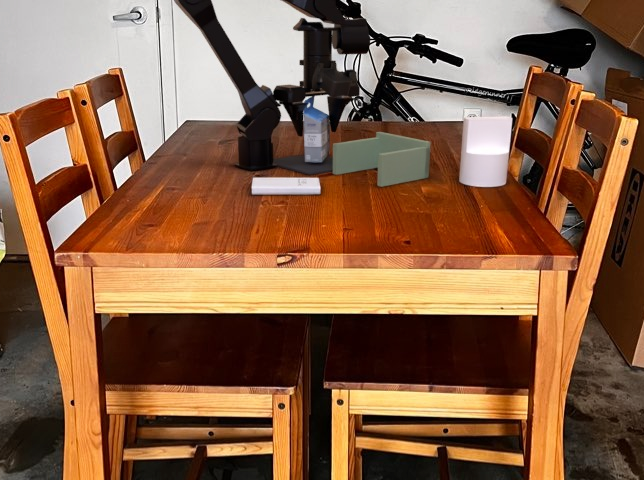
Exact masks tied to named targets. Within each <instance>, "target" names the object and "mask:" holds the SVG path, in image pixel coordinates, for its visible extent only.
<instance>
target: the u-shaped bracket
mask: <svg viewBox="0 0 644 480" xmlns="http://www.w3.org/2000/svg"><path fill="white" fill-rule="evenodd" d="M431 144H432V143H431V141H430V140H429V141H428V140H423V139H418V138H413V137H409V136H404V135H398V134H394V133H388V132H384V131H376V132H375V137H369V138H368V137H367V138H361V139H356V140H349V141H341V142H334V143H332V157H333V171H332V175H335V176H338V175H343V174H349V173H356V172H360V171H366V170H372V169H377V179H376V182H377V183H376V184H377V187H380V188H383V187H389V186H394V185H398V184H403V183H409V182H414V181H418V180H423V179H428V178H429V177H430V176H429V175H430V161H431V160H430V159H431Z"/></svg>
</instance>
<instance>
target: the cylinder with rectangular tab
mask: <svg viewBox="0 0 644 480" xmlns="http://www.w3.org/2000/svg"><path fill="white" fill-rule="evenodd" d="M512 127H513V117H511V116H508V115H503V116H502V115H500V116H499V115H495V116H493V115H492V116H463V123H462V136H461V149H460V162H459V174H458V175H459V176H458V177H459V178H458V182H459V183H461V184H463V185H466V186H471V187H478V188H480V187H481V188H494V187H502V186H505V185H506V184H507V178H508V169H509V168H508V167H509V160H510V159H509V157H510V147H511V137H512Z"/></svg>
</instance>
